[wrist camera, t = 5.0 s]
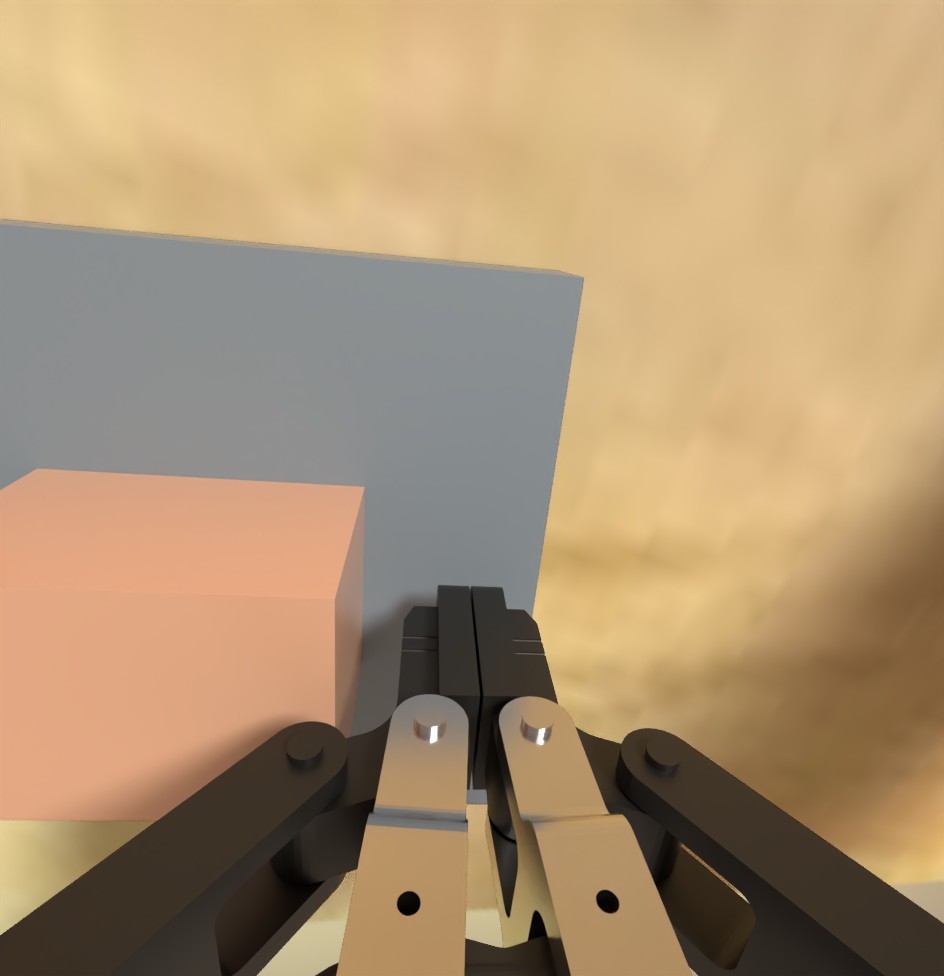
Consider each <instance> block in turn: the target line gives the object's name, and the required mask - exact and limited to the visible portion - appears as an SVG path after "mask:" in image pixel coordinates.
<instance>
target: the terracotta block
mask: <svg viewBox="0 0 944 976" xmlns="http://www.w3.org/2000/svg"><path fill="white" fill-rule="evenodd" d="M364 502H365V487H357V486H340V485H322V484H304V483H286V482H268V481H251V480H233V479H215V478H197V477H180V476H162V475H144V474H126V473H108V472H91V471H73V470H55V469H36V470H34V471H32V472H30V473H29V474H27V475H25V476H24V477H22V478H20V479H19V480H17V481H15V482H14V483H12V484H10V485H8V486H7V487H5V488H3V489H2V490H0V820H70V821H157V820H159V819H160V818H161V817H163V816H164V815H166V814H167V813H168V812H170V811H171V810H172V809H174V808H175V807H176V806H178V805H179V804H181V803H182V802H183V801H185V800H186V799H187V798H189V797H190V796H192V795H193V794H194V793H196V792H197V791H198V790H200V789H201V788H202V787H204V786H205V785H207V784H208V783H209V782H211V781H212V780H213V779H215V778H216V777H217V776H219V775H220V774H222V773H223V772H224V771H226V770H227V769H228V768H230V767H231V766H233V765H234V764H235V763H237V762H238V761H239V760H241V759H242V758H243V757H245V756H246V755H248V754H249V753H250V752H252V751H253V750H254V749H256V748H257V747H259V746H260V745H261V744H263V743H264V742H265V741H267V740H268V739H269V738H271V737H272V736H274V735H275V734H276V733H278V732H279V731H281V730H282V729H284V728H286V727H288V726H290V725H293V724H296V723H301V722H308V721H317V722H323V723H327V724H330V725H332V726H334V727H336V728H337V729H338V730H339V731H341V732H342V734H343V735H344V736H345V738H348V737H349V736H350V730H351V724H352V718H353V711H354V705H355V699H356V693H357V687H358V681H359V675H360V669H361V658H362V606H363V554H364Z"/></svg>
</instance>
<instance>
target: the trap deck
mask: <svg viewBox="0 0 944 976" xmlns="http://www.w3.org/2000/svg"><path fill="white" fill-rule="evenodd" d="M583 282H584V277H580V276H576V275H573V274H569V273H566V272H562V271H557V270H546V269H535V268H524V267H514V266H503V265H492V264H481V263H470V262H460V261H449V260H438V259H427V258H416V257H406V256H395V255H384V254H373V253H362V252H352V251H341V250H330V249H319V248H308V247H297V246H287V245H276V244H265V243H254V242H243V241H233V240H222V239H211V238H200V237H189V236H179V235H168V234H157V233H146V232H135V231H125V230H114V229H103V228H92V227H81V226H70V225H60V224H49V223H38V222H27V221H16V220H6V219H0V490H2V489H3V488H5V487H7V486H8V485H10V484H12V483H14V482H15V481H17V480H19V479H20V478H22V477H24V476H25V475H27V474H29V473H30V472H32V471H34V470H36V469H55V470H73V471H91V472H108V473H126V474H144V475H162V476H180V477H197V478H215V479H233V480H251V481H268V482H286V483H304V484H322V485H340V486H357V487H365V502H364V554H363V606H362V658H361V669H360V675H359V681H358V687H357V693H356V699H355V705H354V711H353V718H352V724H351V730H350V736H349V737H352V736H356V735H360V734H363V733H366V732H369V731H371V730H374V729H376V728H377V727H379V726H381V725H382V724H383V723H385V722H386V721H387V720H388V719H389V718H390V717H391V715H392V714H393V712H394V711H395V708H396V706H397V700H398V687H399V675H400V662H401V650H402V638H403V624H404V619H405V617H406V616H407V615H408V613H409V612H410V611H411V610H412V608H413V607H414V606H431V607H436V602H437V589H438V585H455V586H469V588H471V586H485V587H502V588H503V591H504V597H505V602H506V607H507V609H522V610H525V611H526V612H527V613H528V614H529V615H530V616H531V617H532V614H533V607H534V601H535V594H536V588H537V581H538V575H539V568H540V562H541V555H542V549H543V542H544V536H545V529H546V523H547V516H548V510H549V503H550V497H551V490H552V484H553V477H554V471H555V464H556V458H557V451H558V445H559V438H560V432H561V425H562V419H563V412H564V406H565V399H566V393H567V386H568V380H569V373H570V367H571V360H572V354H573V347H574V341H575V334H576V328H577V321H578V315H579V308H580V302H581V295H582V289H583ZM466 804H487V794H486V790H473V784H472V773H471V782H470V790H467V797H466Z"/></svg>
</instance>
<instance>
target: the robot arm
mask: <svg viewBox="0 0 944 976" xmlns="http://www.w3.org/2000/svg"><path fill="white" fill-rule="evenodd" d="M471 773H472V784H473V790H486V794H487V804H488V807H487V815H486V823H485V831H486V837H487V843H488V849H489V855H490V862H491V868H492V874H493V880H494V886H495V892H496V898H497V904H498V910H499V915H500V922H501V928H502V938H503V948H500V947H495V946H491V945H488V944H484V943H480V942H477V941H473V940H470V939H466V938H465V925H466V888H467V848H468V820H467V819H466V797H467V790H470V782H471ZM682 843H683V844H684V845H685V846H686V847H687V848H689V849H690V850H691V851H692V852H693V853H695V854H696V855H697V856H698V857H699V858H701V859H702V860H703V861H704V862H705V863H707V864H708V865H709V866H710V867H711V868H713V869H714V870H715V871H716V872H717V873H719V874H720V875H721V876H722V877H723V878H725V879H726V880H727V881H728V882H729V883H731V884H732V885H733V886H734V887H735V888H737V889H738V890H739V891H740V892H741V893H742V894H743V895H744V896H745V898H746V899H747V900H748V902H749V903H750V904H749V903H747V902H746V901H745V900H744V899H743V898H742V897H740V896H739V895H738V894H737V893H736V892H735V891H733V890H732V889H731V888H730V887H729V886H727V885H726V884H725V883H724V882H723V881H721V880H720V879H719V878H718V877H717V876H715V875H714V874H713V873H712V872H711V871H710V870H708V869H707V868H706V867H705V866H704V865H702V864H701V863H700V862H699V861H698V860H696V859H695V858H694V857H693V856H692V855H690V854H689V853H688V852H687V851H686V850H684V849H683V848H682V847H681V845H682ZM356 869H357V873H356V878H355V883H354V888H353V893H352V899H351V904H350V909H349V914H348V919H347V924H346V929H345V934H344V939H343V944H342V949H341V954H340V960H339V963H337V964H334V965H332V966H330V967H328V968H327V969H325V970H324V971H322V972H320V973H319V974H317V975H316V976H692V974H691V971H690V969H689V967H690V968H691V969H692V970H693V971H694V972H695V973H696V974H697V975H698V976H944V923H942V922H941V921H939V920H938V919H937V918H935V917H934V916H932V915H931V914H929V913H928V912H927V911H925V910H924V909H922V908H921V907H919V906H918V905H916V904H915V903H914V902H912V901H911V900H909V899H908V898H906V897H905V896H904V895H902V894H901V893H899V892H898V891H897V890H895V889H894V888H892V887H891V886H890V885H888V884H887V883H885V882H884V881H882V880H881V879H880V878H878V877H877V876H875V875H874V874H872V873H871V872H870V871H868V870H867V869H865V868H864V867H862V866H861V865H860V864H858V863H857V862H855V861H854V860H853V859H851V858H850V857H848V856H847V855H845V854H844V853H843V852H841V851H840V850H838V849H837V848H835V847H834V846H833V845H831V844H830V843H828V842H827V841H825V840H824V839H823V838H821V837H820V836H818V835H817V834H815V833H814V832H813V831H811V830H810V829H808V828H807V827H806V826H804V825H803V824H801V823H800V822H798V821H797V820H796V819H794V818H793V817H791V816H790V815H788V814H787V813H786V812H784V811H783V810H781V809H780V808H778V807H777V806H776V805H774V804H773V803H771V802H770V801H768V800H767V799H766V798H764V797H763V796H761V795H760V794H759V793H757V792H756V791H754V790H753V789H751V788H750V787H749V786H747V785H746V784H744V783H743V782H741V781H740V780H739V779H737V778H736V777H734V776H733V775H731V774H730V773H729V772H727V771H726V770H724V769H723V768H721V767H720V766H719V765H717V764H716V763H714V762H713V761H712V760H710V759H709V758H707V757H706V756H704V755H703V754H702V753H700V752H699V751H697V750H696V749H694V748H693V747H692V746H690V745H689V744H687V743H686V742H684V741H683V740H681V739H680V738H678V737H677V736H675V735H673V734H671V733H668V732H665V731H662V730H658V729H651V728H645V729H638V730H635V731H633V732H631V733H629V734H628V735H627V736H626V737H625V738H624V740H623V742H622V744H619V743H616V742H612V741H609V740H605V739H602V738H598V737H595V736H592V735H590V734H587V733H585V732H583V731H582V730H580V729H578V728H577V727H575V725H574V722H573V720H572V718H571V717H570V715H569V714H568V713H567V712H566V711H565V710H564V709H563V708H562V707H561V706H559V705H558V702H557V698H556V694H555V690H554V686H553V683H552V679H551V675H550V671H549V667H548V663H547V660H546V656H545V652H544V648H543V644H542V643H541V637H540V633H539V629H538V625H537V623H536V622H535V621H534V620H533V619H532V617H531V616H530V615H529V614H528V613H527V612H526V611H525V610H522V609H507V607H506V602H505V597H504V591H503V588H502V587H485V586H471V588H469V586H455V585H438V589H437V602H436V607H431V606H414V607H413V608H412V610H411V611H410V612H409V613H408V615H407V616H406V617H405V619H404V624H403V638H402V650H401V662H400V675H399V687H398V700H397V706H396V708H395V711H394V712H393V714H392V715H391V717H390V718H389V719H388V720H387V721H386V722H385V723H383V724H382V725H381V726H379V727H377V728H376V729H374V730H371V731H369V732H366V733H363V734H360V735H356V736H352V737H348V738H345V736H344V735H343V734H342V732H341V731H339V730H338V729H337V728H336V727H334V726H332V725H330V724H327V723H323V722H317V721H308V722H301V723H296V724H293V725H290V726H288V727H286V728H284V729H282V730H281V731H279V732H278V733H276V734H275V735H274V736H272V737H271V738H269V739H268V740H267V741H265V742H264V743H263V744H261V745H260V746H259V747H257V748H256V749H254V750H253V751H252V752H250V753H249V754H248V755H246V756H245V757H243V758H242V759H241V760H239V761H238V762H237V763H235V764H234V765H233V766H231V767H230V768H228V769H227V770H226V771H224V772H223V773H222V774H220V775H219V776H217V777H216V778H215V779H213V780H212V781H211V782H209V783H208V784H207V785H205V786H204V787H202V788H201V789H200V790H198V791H197V792H196V793H194V794H193V795H192V796H190V797H189V798H187V799H186V800H185V801H183V802H182V803H181V804H179V805H178V806H176V807H175V808H174V809H172V810H171V811H170V812H168V813H167V814H166V815H164V816H163V817H161V818H160V819H159V820H157V821H156V822H155V823H153V824H152V825H151V826H149V827H148V828H146V829H145V830H144V831H142V832H141V833H140V834H138V835H137V836H135V837H134V838H133V839H131V840H130V841H129V842H127V843H126V844H125V845H123V846H122V847H120V848H119V849H118V850H116V851H115V852H114V853H112V854H111V855H110V856H108V857H107V858H105V859H104V860H103V861H101V862H100V863H99V864H97V865H96V866H94V867H93V868H92V869H90V870H89V871H88V872H86V873H85V874H84V875H82V876H81V877H79V878H78V879H77V880H75V881H74V882H73V883H71V884H70V885H69V886H67V887H66V888H64V889H63V890H62V891H60V892H59V893H58V894H56V895H55V896H53V897H52V898H51V899H49V900H48V901H47V902H45V903H44V904H43V905H41V906H40V907H38V908H37V909H36V910H34V911H33V912H32V913H30V914H29V915H28V916H26V917H25V918H23V919H22V920H21V921H19V922H18V923H17V924H15V925H14V926H12V927H11V928H10V929H8V930H7V931H6V932H4V933H3V934H2V935H0V976H257V974H258V973H259V972H260V971H261V970H262V969H263V968H264V967H265V966H266V965H267V964H268V963H269V961H270V960H271V959H272V958H273V957H274V956H275V955H276V954H277V953H278V952H279V950H280V949H281V948H282V947H283V946H284V945H285V944H286V943H287V942H288V941H289V940H290V939H291V937H292V936H293V935H294V934H295V933H296V932H297V931H298V930H299V929H300V928H301V927H302V926H303V925H304V924H305V922H306V921H307V920H308V919H309V918H310V917H311V916H312V915H313V914H314V913H315V912H316V911H317V909H318V908H319V907H320V906H321V905H322V904H323V903H324V902H325V901H326V900H327V899H328V898H329V896H330V895H331V894H332V893H333V892H334V891H335V890H336V889H337V888H338V886H339V885H340V884H341V882H342V881H343V879H344V877H345V874H346V873H347V872H350V871H353V870H356Z"/></svg>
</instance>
